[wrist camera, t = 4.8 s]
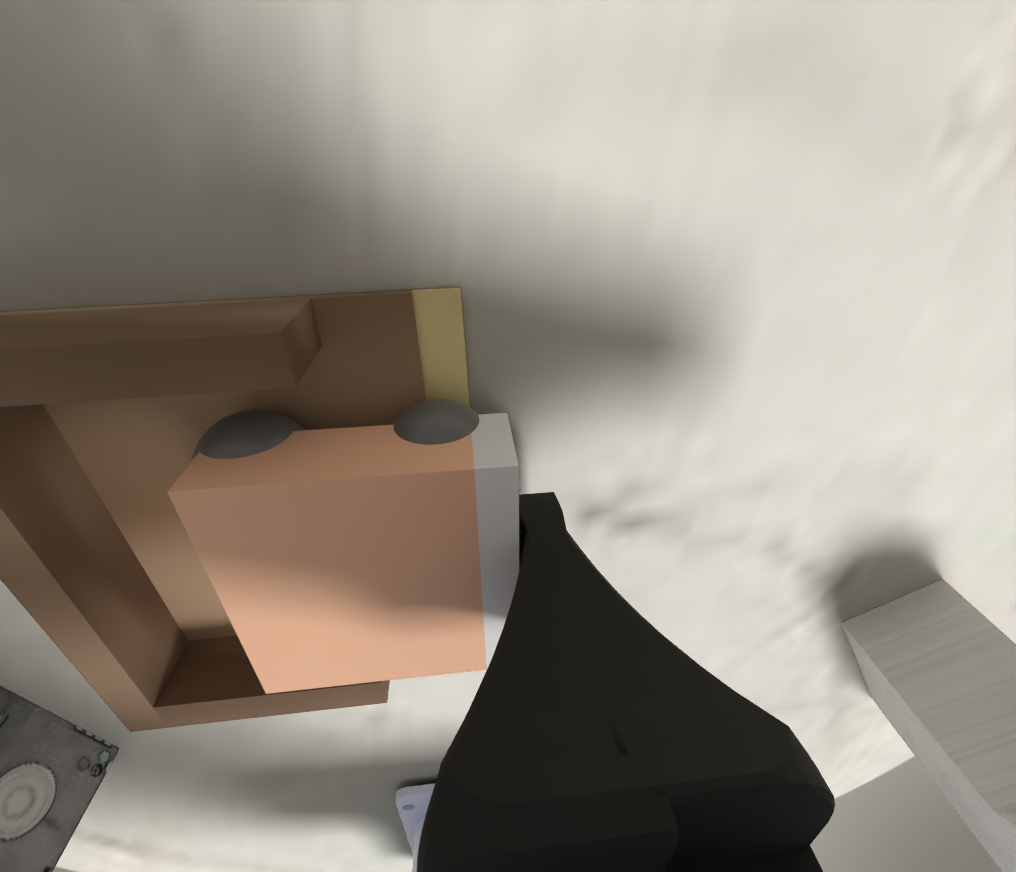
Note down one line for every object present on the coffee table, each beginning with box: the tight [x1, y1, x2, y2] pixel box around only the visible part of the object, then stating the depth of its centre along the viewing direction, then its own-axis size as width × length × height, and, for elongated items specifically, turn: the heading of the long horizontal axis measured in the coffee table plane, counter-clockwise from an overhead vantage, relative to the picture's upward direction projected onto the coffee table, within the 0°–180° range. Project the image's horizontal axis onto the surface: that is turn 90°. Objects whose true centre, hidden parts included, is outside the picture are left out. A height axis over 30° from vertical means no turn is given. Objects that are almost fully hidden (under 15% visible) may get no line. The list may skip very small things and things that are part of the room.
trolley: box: [167, 399, 519, 694], centre depth 11 cm, size 7×6×3 cm
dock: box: [0, 287, 470, 732], centre depth 12 cm, size 11×10×2 cm
